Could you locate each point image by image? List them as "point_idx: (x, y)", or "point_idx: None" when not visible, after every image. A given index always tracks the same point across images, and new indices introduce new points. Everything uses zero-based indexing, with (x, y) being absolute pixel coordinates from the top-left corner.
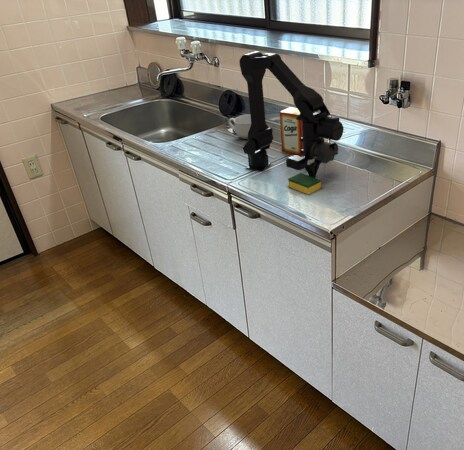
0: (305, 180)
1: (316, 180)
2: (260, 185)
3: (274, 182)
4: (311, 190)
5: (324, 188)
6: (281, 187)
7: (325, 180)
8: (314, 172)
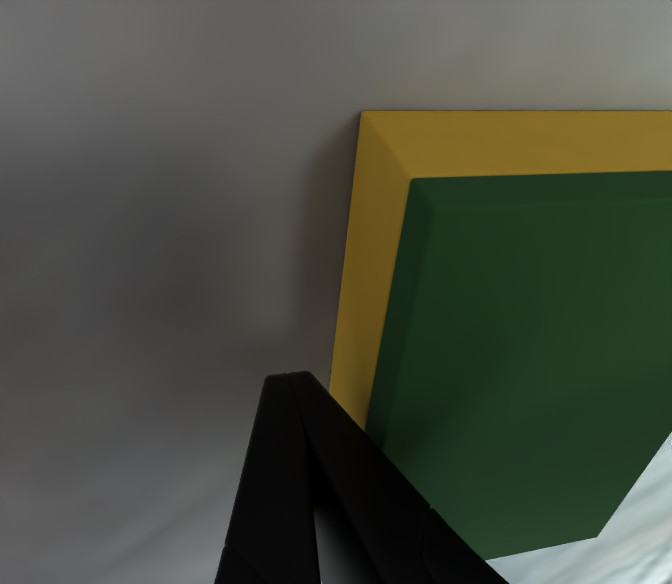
0: (592, 387)
1: (519, 253)
2: (591, 549)
3: None
4: (646, 129)
5: (327, 34)
6: None
7: (18, 280)
8: (354, 502)
